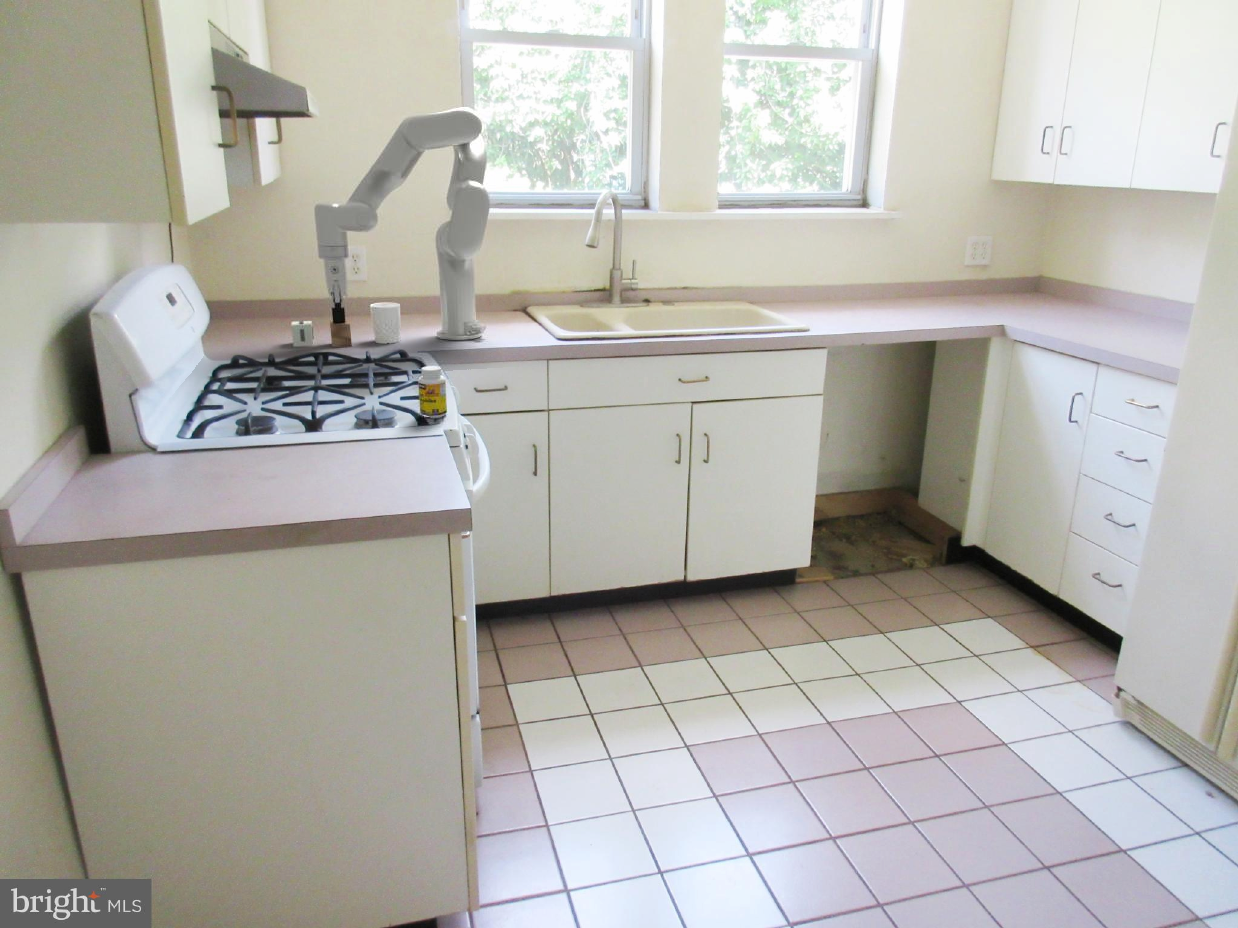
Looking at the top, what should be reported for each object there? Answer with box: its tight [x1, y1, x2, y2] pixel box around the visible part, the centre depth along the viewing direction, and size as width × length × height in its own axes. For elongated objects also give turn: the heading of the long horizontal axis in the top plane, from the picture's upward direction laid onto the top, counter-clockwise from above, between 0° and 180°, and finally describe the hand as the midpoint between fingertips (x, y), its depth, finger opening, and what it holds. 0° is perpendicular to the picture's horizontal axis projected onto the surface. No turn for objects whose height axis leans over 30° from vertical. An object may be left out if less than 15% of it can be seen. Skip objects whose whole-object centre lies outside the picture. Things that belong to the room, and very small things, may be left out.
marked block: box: [290, 320, 314, 348], centre depth 241 cm, size 5×5×6 cm
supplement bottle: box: [417, 365, 448, 419], centre depth 179 cm, size 5×5×10 cm
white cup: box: [369, 301, 401, 345], centre depth 245 cm, size 8×8×10 cm
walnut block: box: [329, 320, 353, 348], centre depth 241 cm, size 5×5×6 cm
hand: (339, 322), depth 240 cm, fingers closed
